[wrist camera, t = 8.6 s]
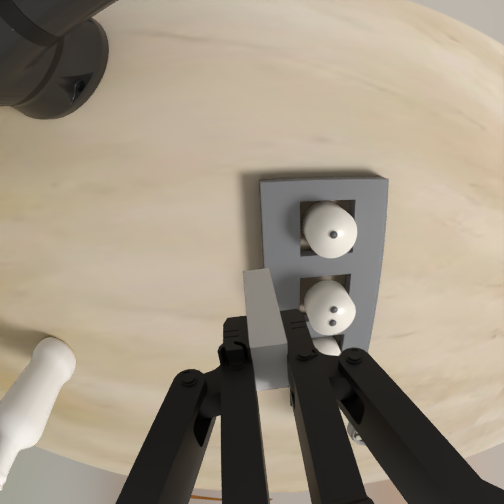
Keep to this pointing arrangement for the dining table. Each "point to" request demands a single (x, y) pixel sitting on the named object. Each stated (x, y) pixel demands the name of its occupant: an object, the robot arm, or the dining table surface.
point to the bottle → (32, 399)
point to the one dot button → (329, 229)
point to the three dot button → (327, 345)
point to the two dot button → (329, 307)
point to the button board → (312, 265)
